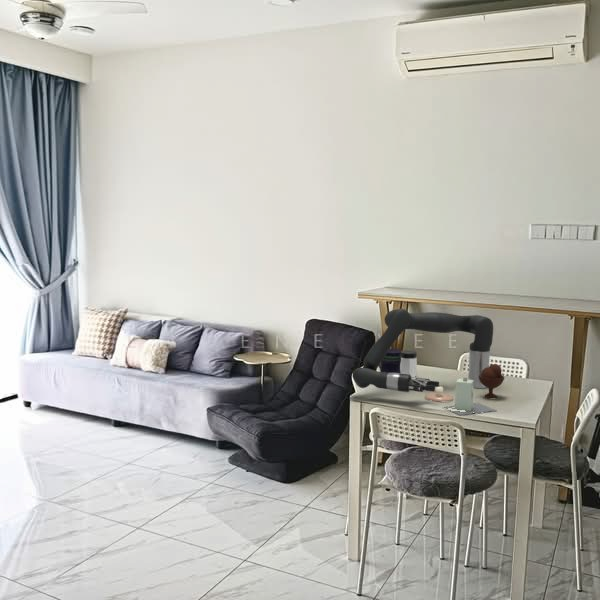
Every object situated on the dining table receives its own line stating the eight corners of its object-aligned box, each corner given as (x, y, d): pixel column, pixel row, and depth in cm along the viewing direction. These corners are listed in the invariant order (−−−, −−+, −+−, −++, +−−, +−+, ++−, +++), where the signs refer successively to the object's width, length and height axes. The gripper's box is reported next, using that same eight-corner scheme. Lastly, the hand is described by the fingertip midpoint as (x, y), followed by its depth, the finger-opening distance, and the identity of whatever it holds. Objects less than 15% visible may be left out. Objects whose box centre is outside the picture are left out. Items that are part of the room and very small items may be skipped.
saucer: (442, 393, 303) (442, 391, 303) (458, 400, 292) (458, 398, 292) (419, 396, 299) (419, 394, 298) (435, 403, 288) (435, 400, 287)
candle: (439, 394, 297) (440, 384, 297) (444, 396, 294) (444, 386, 294) (433, 395, 296) (434, 384, 295) (437, 397, 293) (438, 386, 293)
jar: (406, 378, 332) (407, 354, 330) (395, 375, 339) (396, 351, 337) (419, 376, 337) (420, 352, 335) (408, 372, 343) (409, 349, 342)
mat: (478, 403, 288) (478, 402, 288) (496, 411, 277) (496, 410, 277) (442, 407, 281) (442, 406, 281) (460, 415, 270) (460, 414, 270)
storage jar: (382, 377, 332) (383, 347, 330) (402, 379, 329) (403, 349, 327) (377, 382, 323) (378, 351, 321) (397, 384, 319) (398, 353, 318)
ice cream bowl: (496, 393, 305) (497, 360, 303) (507, 400, 294) (509, 366, 292) (473, 394, 303) (475, 361, 301) (484, 400, 292) (486, 366, 290)
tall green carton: (457, 405, 283) (458, 375, 281) (472, 407, 280) (474, 377, 279) (455, 409, 277) (456, 378, 276) (470, 411, 275) (471, 380, 273)
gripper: (395, 376, 281) (434, 381, 275) (403, 370, 294) (440, 374, 288) (394, 394, 282) (433, 399, 276) (402, 387, 295) (439, 391, 289)
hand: (436, 386), depth 282 cm, fingers open, 8 cm apart
